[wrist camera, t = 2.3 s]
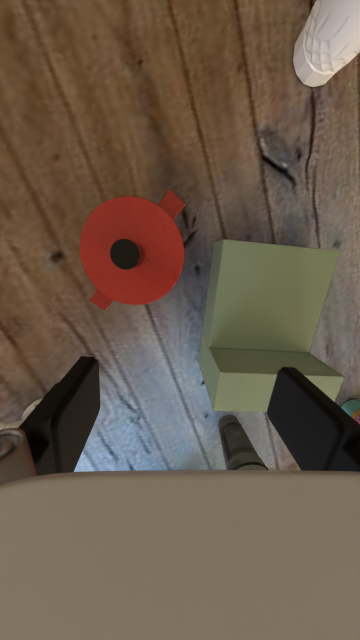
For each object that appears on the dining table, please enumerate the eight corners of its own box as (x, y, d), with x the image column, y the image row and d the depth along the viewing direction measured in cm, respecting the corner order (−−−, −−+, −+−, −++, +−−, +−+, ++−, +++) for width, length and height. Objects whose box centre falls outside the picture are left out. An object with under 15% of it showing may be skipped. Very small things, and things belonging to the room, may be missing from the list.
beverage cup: (228, 404, 43) (278, 523, 24) (250, 420, 45) (314, 543, 26) (205, 426, 44) (235, 554, 25) (228, 440, 46) (272, 571, 27)
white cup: (322, 106, 28) (403, 29, 18) (276, 72, 26) (338, -31, 17) (358, 36, 26) (469, -90, 16) (310, -5, 24) (403, -169, 15)
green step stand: (213, 241, 32) (243, 234, 20) (311, 251, 34) (394, 249, 22) (198, 361, 39) (213, 411, 27) (280, 365, 41) (330, 413, 28)
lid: (63, 261, 24) (31, 263, 19) (122, 173, 22) (106, 143, 16) (144, 320, 28) (138, 338, 22) (203, 248, 25) (214, 246, 19)
